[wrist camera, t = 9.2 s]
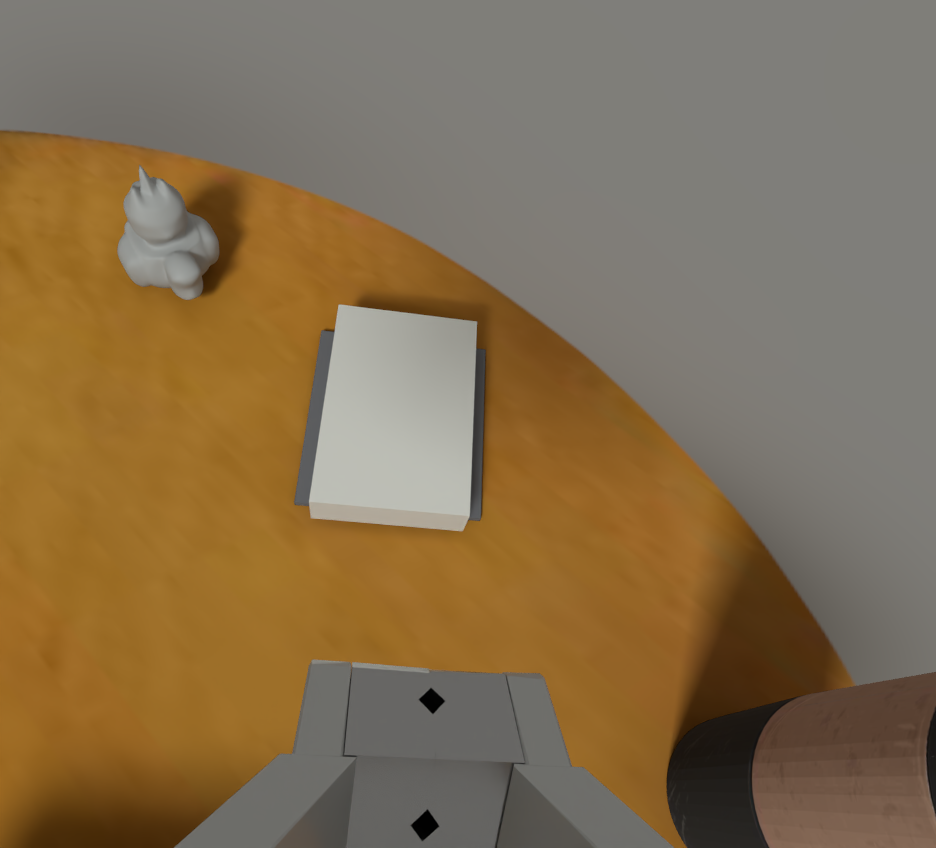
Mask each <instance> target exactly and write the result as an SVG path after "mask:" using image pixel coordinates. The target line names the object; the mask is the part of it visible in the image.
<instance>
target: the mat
mask: <svg viewBox="0 0 936 848" xmlns="http://www.w3.org/2000/svg"><path fill="white" fill-rule="evenodd" d="M334 333H335V332H331V331H321V338H320V344H319V350H318V357H317V363H316V369H315V375H314V382H313V388H312V394H311V400H310V407H309V413H308V419H307V426H306V432H305V438H304V444H303V451H302V457H301V463H300V469H299V476H298V482H297V488H296V495H295V501H294V503H295V505H304V506H309V498H310V491H311V485H312V478H313V471H314V465H315V458H316V452H317V445H318V438H319V432H320V425H321V419H322V412H323V405H324V399H325V392H326V386H327V379H328V372H329V366H330V359H331V353H332V346H333V339H334ZM484 384H485V350H484V349H476V364H475V390H474V417H473V443H472V470H471V496H470V517H469V519H468V520H476V521H480V519H481V493H482V457H483V420H484Z"/></svg>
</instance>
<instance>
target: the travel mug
mask: <svg viewBox="0 0 936 848" xmlns="http://www.w3.org/2000/svg"><path fill="white" fill-rule="evenodd" d="M667 797H668V804H669V809H670V813H671V816H672V819H673V822H674V825H675V827H676V829H677V831H678V833H679V835H680V837H681V839H682V840H683V842H684V844H685V845H686V846H687V848H936V672H934V673H927V674H922V675H916V676H911V677H904V678H899V679H893V680H888V681H882V682H876V683H870V684H865V685H859V686H853V687H847V688H842V689H836V690H830V691H825V692H819V693H813V694H808V695H804V696H799V697H796V698H792V699H788V700H784V701H780V702H776V703H772V704H768V705H764V706H760V707H756V708H752V709H748V710H745V711H741V712H737V713H733V714H729V715H725V716H722V717H718V718H715V719H712V720H708V721H706V722H703V723H701V724H699V725H697V726H696V727H694V728H693V729H692V730H690V731H689V732H688V733H687V734H686V735H685V736H684V737H683V738H682V740H681V741H680V742H679V744H678V745H677V747H676V749H675V751H674V753H673V755H672V758H671V761H670V765H669V769H668V775H667Z"/></svg>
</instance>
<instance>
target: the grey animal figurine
mask: <svg viewBox="0 0 936 848" xmlns="http://www.w3.org/2000/svg"><path fill="white" fill-rule="evenodd" d="M139 177H140V181H137V182H134V183H133V184H132V187H131V189H130V192H129V193H128V194H127V195H126V197H125V200H124V210H125V213H126V216H127V218H128V221H127V222H126V224H125V233H124V235H123V236H122V237H121V239H120V241H119V244H118V249H117V250H118V256H119V259H120V261H121V263H122V265H123V267H124V269H125V270H126V272H127V274H128V275H129V277H130V278H131V280H132V281H133V282H134V283H136V284H137V285H139V286H143V287H146V286H150V285H153V286H156V287H160V288H172V290H173V291H174V293H175V294H176V295H177V296H179V297H180V298H182V299H186V300H191V299H194V298H196V297H199V296H200V295H201V293H202V290H203V280H202V275H203V274H204V273H205V272H206V271H207V270H208V268H209V266H210V265H212V264H214V263H215V262H216V261H217V260H218V257H219V241H218V238H217V236H216V234H215V233H214V231H213V229H212V228H211V226H210V225H209V223H208V222H207V221H206V220H204V219H203V218H201V217H199V216H197V215H194V214H191V213H189V212H188V211H187V210H186V207H185V204H184V200H183V198H182V196H181V195H180V193H179V192H178V191H177V190H176V189H175V188H174V187H173V186H171V185H169V184H167V183H166V182H165V181H164V180H163V179H157V178H155V177H152V178H149V176H148V175H147V173H146V172H145V171H144V169H143V168H142V167H141V166H140V165H139Z"/></svg>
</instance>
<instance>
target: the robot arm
mask: <svg viewBox="0 0 936 848" xmlns="http://www.w3.org/2000/svg"><path fill="white" fill-rule="evenodd" d="M350 676H351V678H350ZM174 848H674V847H673V846H672V845H670V844H669V843H668V842H667V841H666V840H665V839H664V838H663V837H661V836H660V835H659V834H658V833H657V832H656V831H655V830H654V829H652V828H651V827H650V826H649V825H648V824H647V823H646V822H644V821H643V820H642V819H641V818H640V817H639V816H638V815H637V814H635V813H634V812H633V811H632V810H631V809H630V808H629V807H628V806H626V805H625V804H624V803H623V802H622V801H621V800H620V799H619V798H617V797H616V796H615V795H614V794H613V793H612V792H611V791H610V790H608V789H607V788H606V787H605V786H604V785H603V784H602V783H601V782H599V781H598V780H597V779H596V778H595V777H594V776H593V775H591V774H590V773H589V772H588V771H587V770H586V769H585V768H583V767H572V765H571V762H570V758H569V755H568V752H567V749H566V746H565V742H564V739H563V736H562V733H561V730H560V726H559V723H558V720H557V717H556V714H555V710H554V707H553V704H552V701H551V698H550V694H549V691H548V688H547V685H546V681H545V678H544V677H543V676H542V675H541V674H540V673H509V672H503V673H502V674H499V673H482V672H464V671H447V670H430V669H426V668H414V667H402V666H390V665H379V664H367V663H355V662H353V663H352V671H351V663H350V662H340V661H325V660H312V661H311V663H310V665H309V668H308V674H307V679H306V684H305V690H304V695H303V700H302V705H301V711H300V716H299V721H298V726H297V732H296V737H295V742H294V747H293V753H292V754H279V755H278V756H277V757H276V758H274V759H273V760H272V761H271V762H270V763H269V764H268V765H267V766H265V767H264V768H263V769H262V770H261V771H260V772H259V773H257V774H256V775H255V776H254V777H253V778H252V779H251V780H250V781H248V782H247V783H246V784H245V785H244V786H243V787H242V788H241V789H239V790H238V791H237V792H236V793H235V794H234V795H233V796H232V797H230V798H229V799H228V800H227V801H226V802H225V803H224V804H222V805H221V806H220V807H219V808H218V809H217V810H216V811H215V812H213V813H212V814H211V815H210V816H209V817H208V818H207V819H206V820H204V821H203V822H202V823H201V824H200V825H199V826H198V827H197V828H195V829H194V830H193V831H192V832H191V833H190V834H189V835H187V836H186V837H185V838H184V839H183V840H182V841H181V842H180V843H178V844H177V845H176V846H175V847H174Z"/></svg>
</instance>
